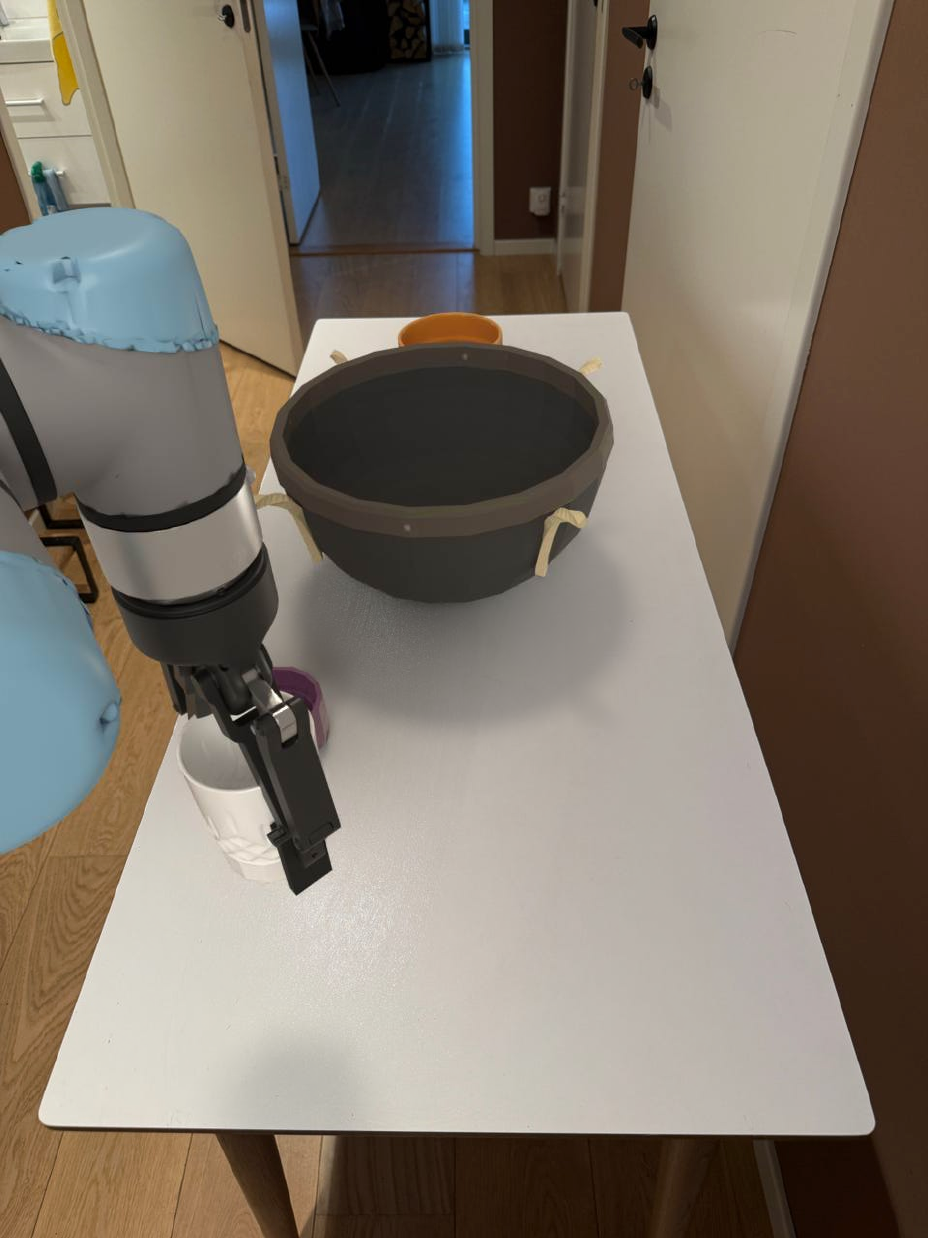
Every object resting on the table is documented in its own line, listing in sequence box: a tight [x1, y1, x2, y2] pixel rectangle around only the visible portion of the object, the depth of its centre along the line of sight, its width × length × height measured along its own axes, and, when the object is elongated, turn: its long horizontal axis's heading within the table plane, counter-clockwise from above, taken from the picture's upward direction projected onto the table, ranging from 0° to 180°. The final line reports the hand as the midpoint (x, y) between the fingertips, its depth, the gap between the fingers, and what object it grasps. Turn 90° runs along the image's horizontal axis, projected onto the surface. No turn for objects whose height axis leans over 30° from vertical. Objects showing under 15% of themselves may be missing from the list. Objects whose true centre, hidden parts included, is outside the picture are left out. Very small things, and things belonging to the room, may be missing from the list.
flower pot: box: [397, 311, 504, 347], centre depth 129 cm, size 14×14×13 cm
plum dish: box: [272, 666, 330, 750], centre depth 88 cm, size 9×9×5 cm
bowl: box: [253, 341, 615, 605], centre depth 101 cm, size 35×35×20 cm
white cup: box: [175, 691, 328, 884], centre depth 56 cm, size 8×8×10 cm
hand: (275, 837), depth 59 cm, fingers closed on white cup, 8 cm apart
